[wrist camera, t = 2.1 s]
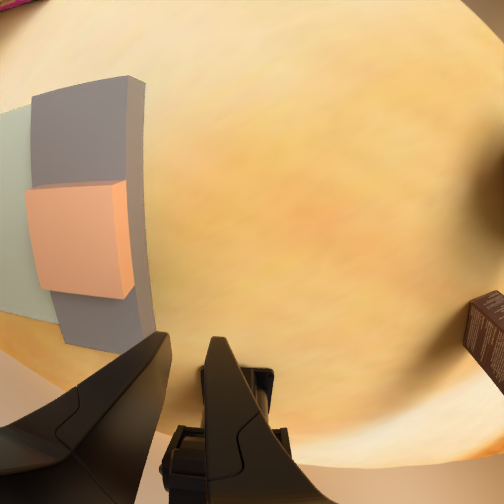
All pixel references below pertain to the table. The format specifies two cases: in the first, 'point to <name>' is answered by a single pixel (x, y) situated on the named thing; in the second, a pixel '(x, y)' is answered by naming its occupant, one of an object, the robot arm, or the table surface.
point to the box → (487, 335)
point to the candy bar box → (12, 3)
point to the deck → (98, 169)
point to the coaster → (81, 237)
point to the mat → (18, 223)
